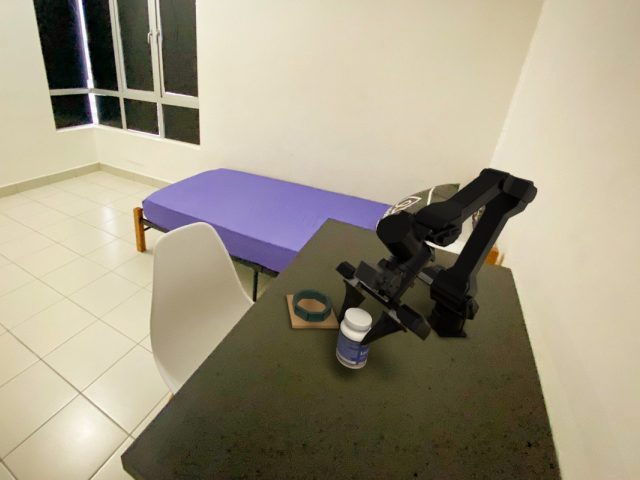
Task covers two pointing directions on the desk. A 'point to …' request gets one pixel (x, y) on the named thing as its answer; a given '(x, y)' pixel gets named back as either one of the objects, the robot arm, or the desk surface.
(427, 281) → the cell phone
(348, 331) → the pill bottle
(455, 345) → the desk surface
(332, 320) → the dock
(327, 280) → the desk surface
